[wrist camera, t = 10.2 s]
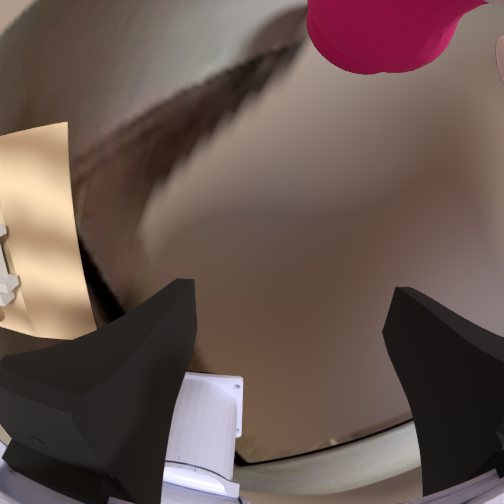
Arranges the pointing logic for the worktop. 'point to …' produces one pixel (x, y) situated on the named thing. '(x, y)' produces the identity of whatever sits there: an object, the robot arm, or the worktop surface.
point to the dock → (41, 236)
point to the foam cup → (500, 56)
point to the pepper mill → (385, 31)
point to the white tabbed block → (6, 277)
